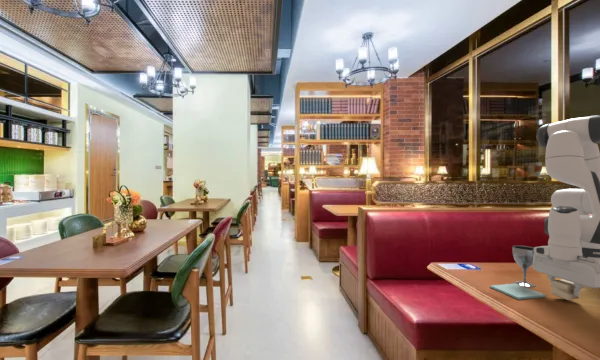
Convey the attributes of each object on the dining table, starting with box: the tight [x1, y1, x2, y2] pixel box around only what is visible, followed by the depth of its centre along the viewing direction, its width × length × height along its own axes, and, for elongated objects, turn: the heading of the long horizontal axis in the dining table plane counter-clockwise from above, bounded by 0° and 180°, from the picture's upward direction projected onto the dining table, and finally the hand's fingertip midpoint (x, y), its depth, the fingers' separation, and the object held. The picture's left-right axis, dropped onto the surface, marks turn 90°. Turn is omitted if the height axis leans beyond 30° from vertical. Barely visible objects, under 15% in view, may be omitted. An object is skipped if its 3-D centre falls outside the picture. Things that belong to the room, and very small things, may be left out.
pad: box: [489, 283, 547, 301], centre depth 110 cm, size 12×12×1 cm
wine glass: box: [512, 245, 537, 288], centre depth 118 cm, size 8×8×15 cm
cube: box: [551, 279, 580, 301], centre depth 102 cm, size 5×5×5 cm
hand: (564, 291), depth 102 cm, fingers closed on cube, 5 cm apart
